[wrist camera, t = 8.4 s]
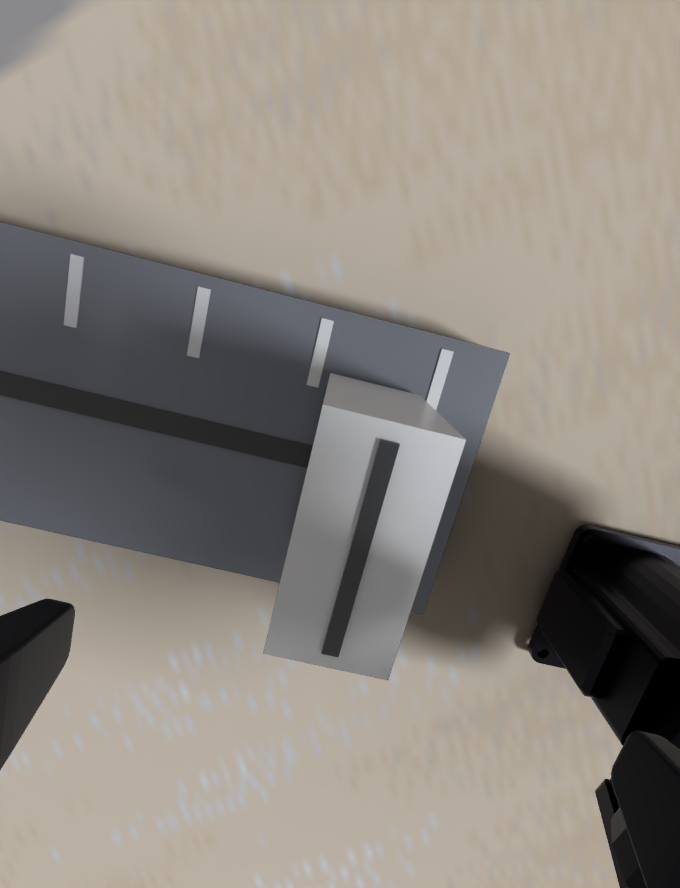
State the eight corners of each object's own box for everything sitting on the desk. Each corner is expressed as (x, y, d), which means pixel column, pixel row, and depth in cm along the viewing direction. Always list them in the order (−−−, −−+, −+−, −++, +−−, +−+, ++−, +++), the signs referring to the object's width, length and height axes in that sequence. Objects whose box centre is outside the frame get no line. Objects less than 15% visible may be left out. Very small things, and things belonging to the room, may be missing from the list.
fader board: (487, 348, 18) (510, 352, 15) (413, 579, 20) (423, 615, 18) (-53, 210, 17) (-122, 190, 14) (-62, 471, 19) (-122, 494, 17)
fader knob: (419, 395, 15) (467, 440, 10) (372, 556, 17) (388, 683, 11) (330, 372, 15) (322, 405, 9) (290, 538, 17) (262, 656, 11)
